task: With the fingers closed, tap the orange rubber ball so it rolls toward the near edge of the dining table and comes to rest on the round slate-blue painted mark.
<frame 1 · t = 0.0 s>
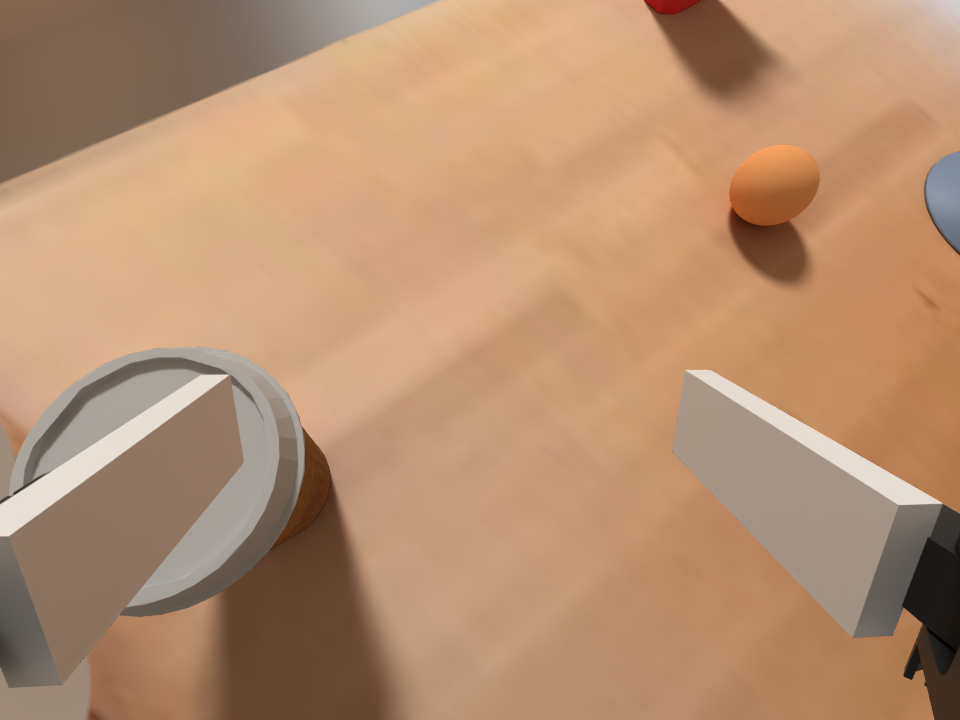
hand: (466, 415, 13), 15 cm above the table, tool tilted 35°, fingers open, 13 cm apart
ball: (772, 186, 33), on the table
disposable coffee cup: (277, 485, 27), on the table
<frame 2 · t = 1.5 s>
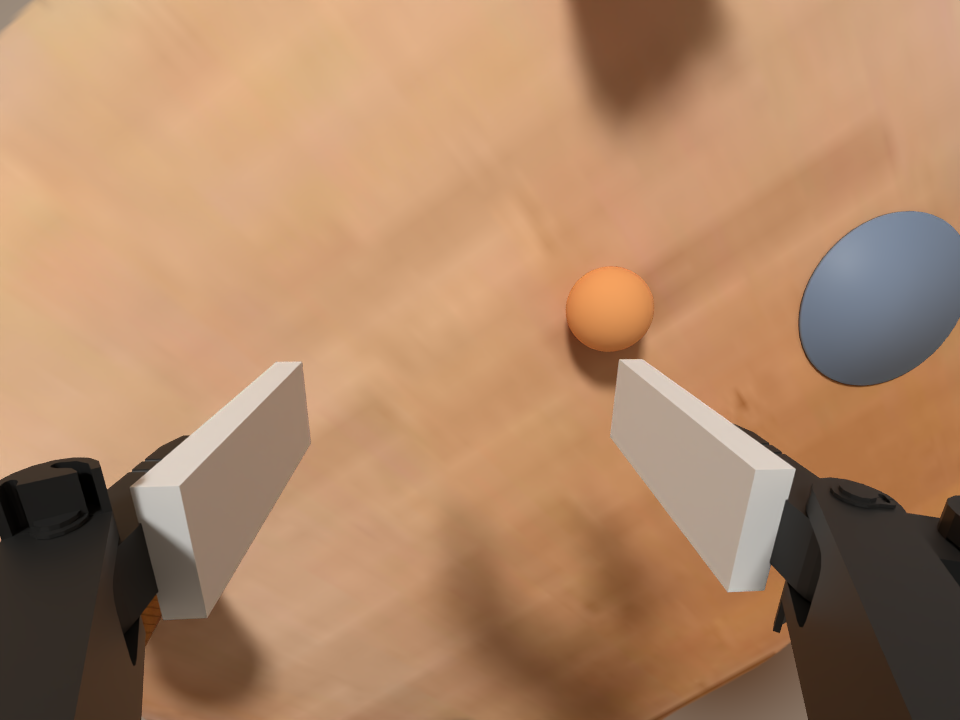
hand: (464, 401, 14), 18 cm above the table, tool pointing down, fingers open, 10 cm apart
ball: (608, 309, 29), on the table
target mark: (882, 302, 33), on the table
disposable coffee cup: (149, 552, 35), on the table
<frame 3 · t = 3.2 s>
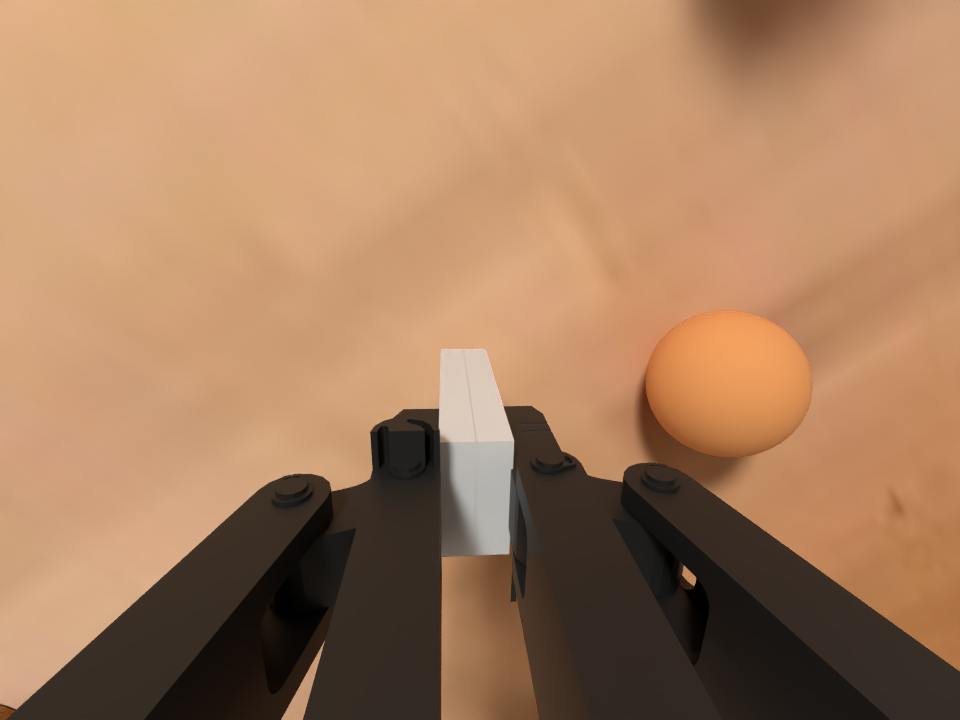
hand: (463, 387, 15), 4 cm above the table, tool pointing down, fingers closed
ball: (722, 383, 17), on the table
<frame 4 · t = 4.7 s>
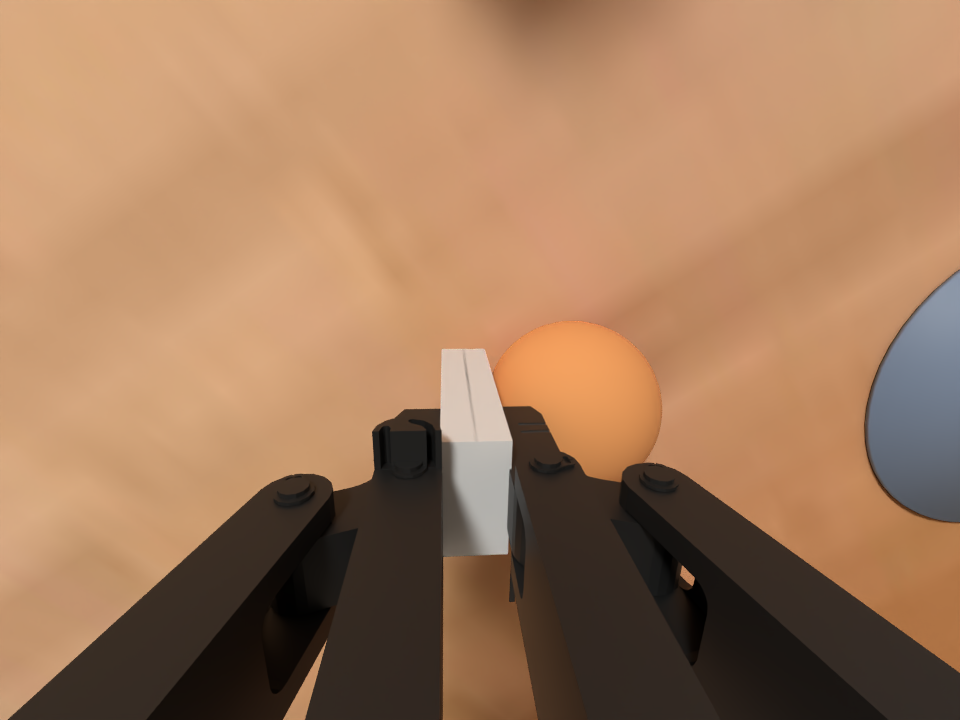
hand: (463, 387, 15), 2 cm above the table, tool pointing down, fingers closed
ball: (570, 405, 15), on the table, touching gripper
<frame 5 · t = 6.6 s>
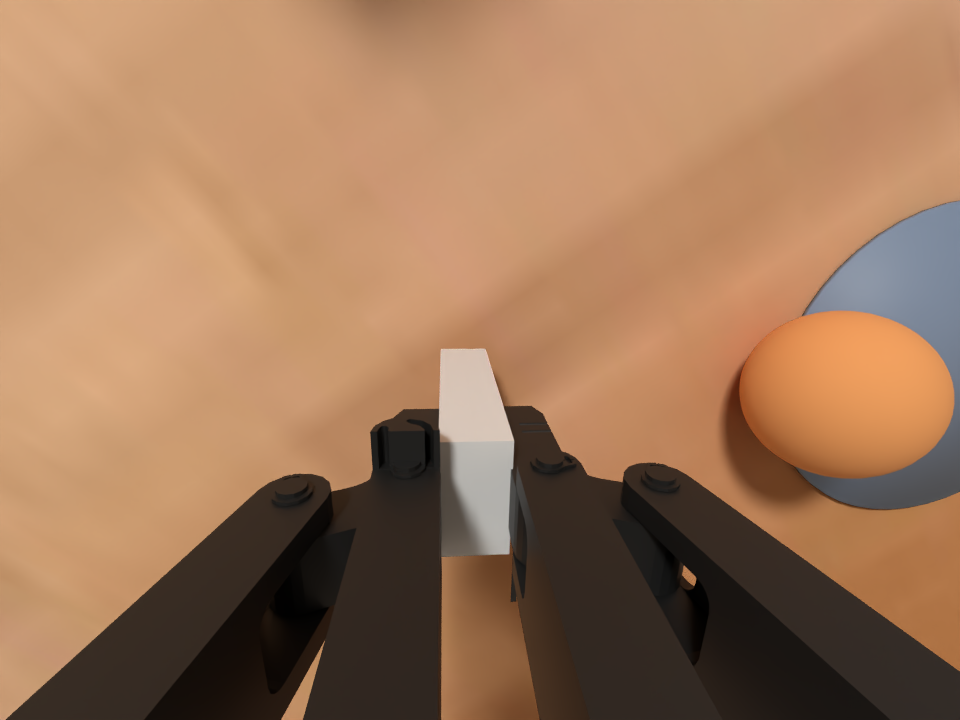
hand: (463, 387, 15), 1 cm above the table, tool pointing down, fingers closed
ball: (834, 393, 15), on the table
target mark: (932, 368, 18), on the table
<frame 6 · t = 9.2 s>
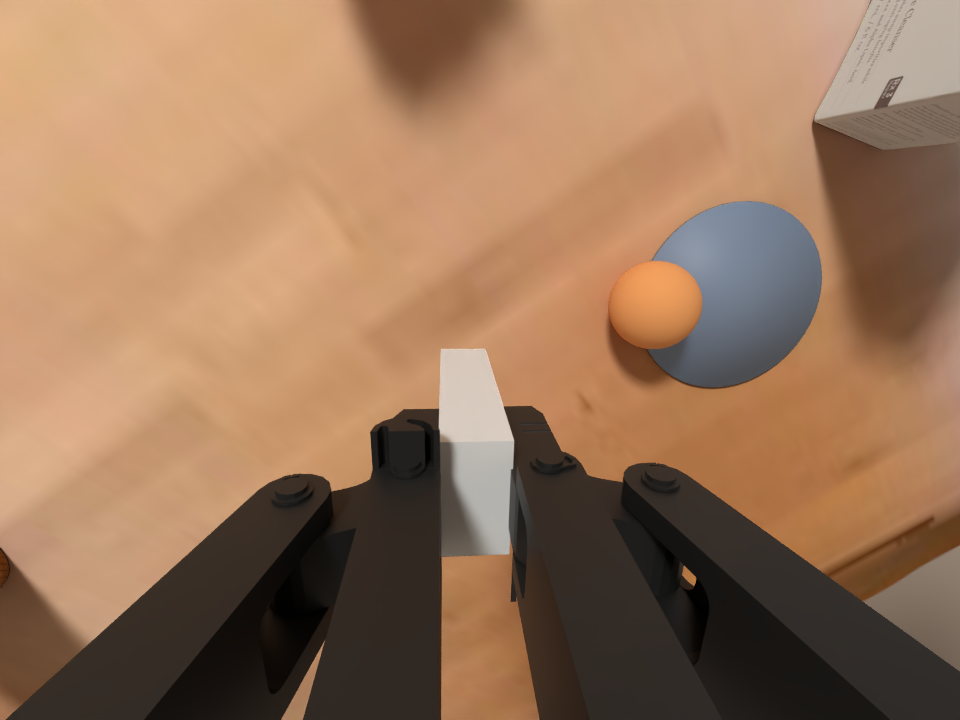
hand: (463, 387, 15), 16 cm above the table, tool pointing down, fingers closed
ball: (653, 305, 28), on the table
skincare box: (877, 75, 28), on the table
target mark: (728, 299, 31), on the table
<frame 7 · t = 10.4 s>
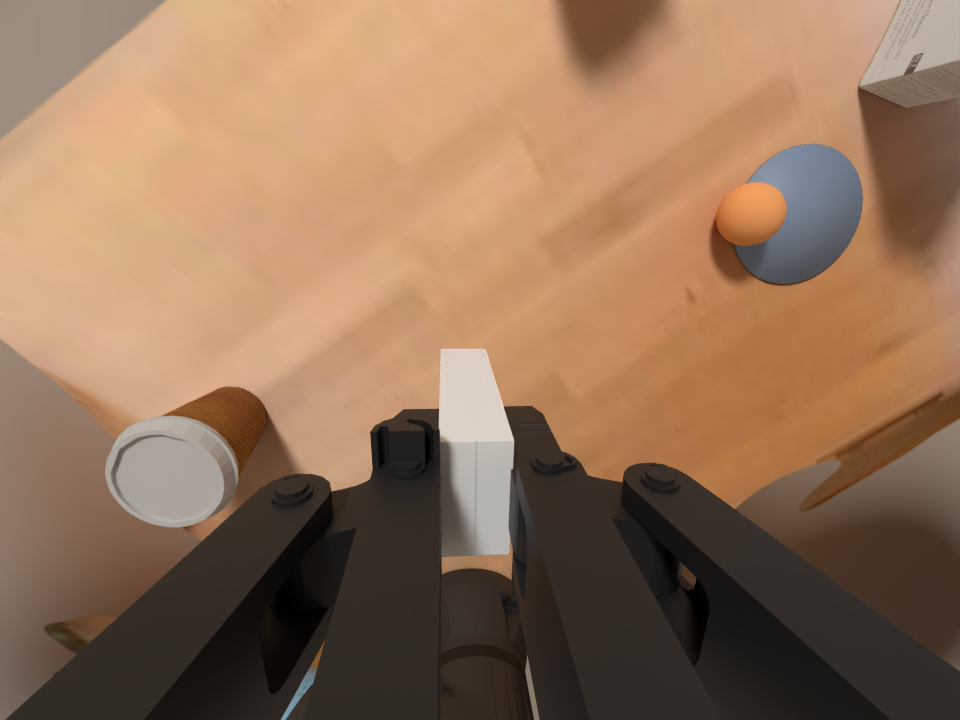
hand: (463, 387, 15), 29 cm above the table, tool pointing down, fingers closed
ball: (750, 214, 41), on the table
skincare box: (902, 55, 40), on the table
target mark: (796, 217, 44), on the table
disposable coffee cup: (235, 414, 46), on the table
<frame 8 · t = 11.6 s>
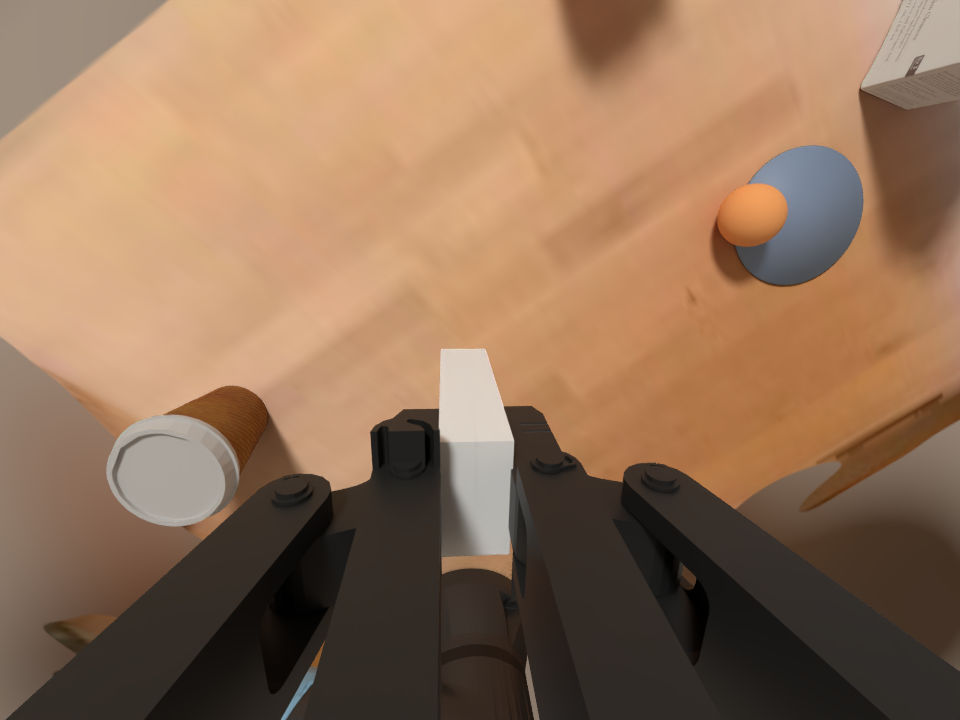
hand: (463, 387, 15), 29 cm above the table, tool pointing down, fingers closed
ball: (751, 215, 41), on the table
skincare box: (903, 57, 41), on the table
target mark: (797, 218, 44), on the table
disposable coffee cup: (236, 413, 46), on the table
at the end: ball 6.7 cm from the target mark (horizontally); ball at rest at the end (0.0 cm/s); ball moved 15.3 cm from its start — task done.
